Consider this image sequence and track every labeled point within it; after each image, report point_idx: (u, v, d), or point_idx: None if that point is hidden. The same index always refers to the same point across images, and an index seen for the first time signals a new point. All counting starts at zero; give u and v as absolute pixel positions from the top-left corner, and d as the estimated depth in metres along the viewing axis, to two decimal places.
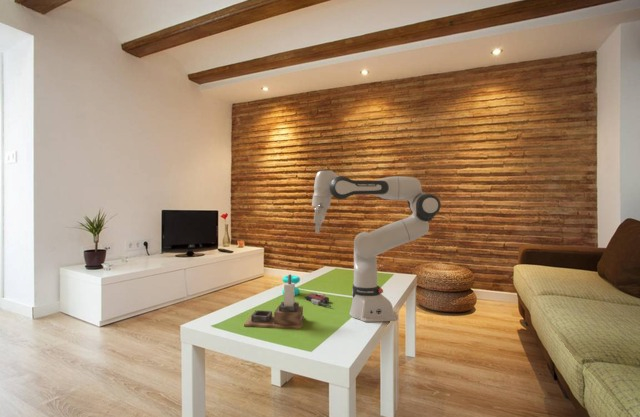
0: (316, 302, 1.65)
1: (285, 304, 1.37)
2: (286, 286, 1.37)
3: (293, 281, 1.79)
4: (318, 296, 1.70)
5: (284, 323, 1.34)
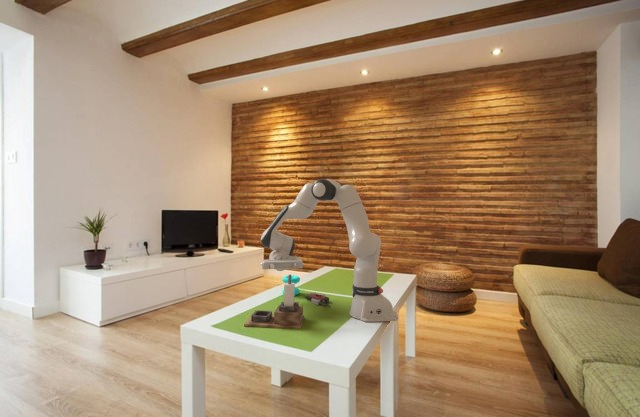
0: (316, 302, 1.65)
1: (285, 304, 1.37)
2: (286, 286, 1.37)
3: (293, 281, 1.79)
4: (318, 296, 1.71)
5: (284, 323, 1.34)
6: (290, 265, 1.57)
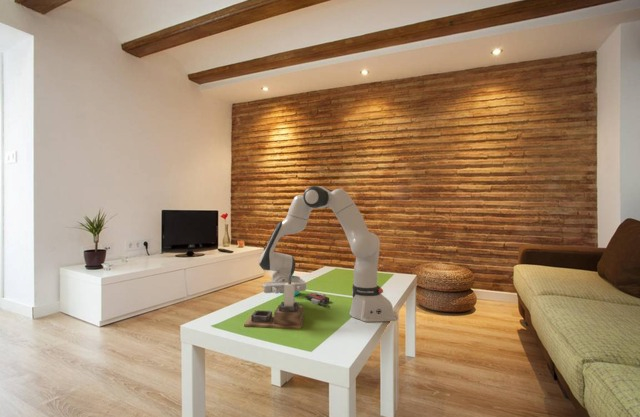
0: (316, 302, 1.65)
1: (285, 304, 1.37)
2: (286, 286, 1.37)
3: None
4: (318, 296, 1.71)
5: (284, 323, 1.34)
6: None
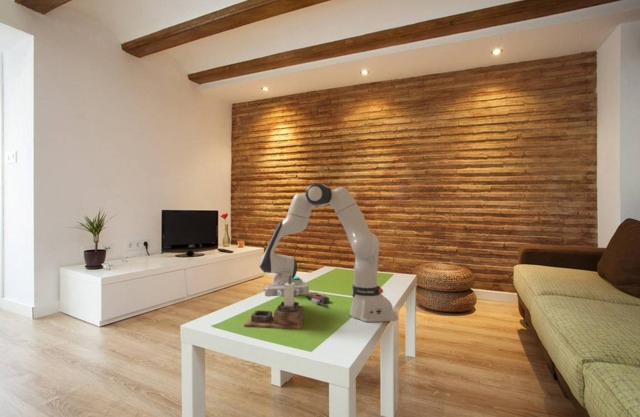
0: (315, 302, 1.66)
1: (285, 304, 1.37)
2: (286, 286, 1.37)
3: None
4: (318, 296, 1.71)
5: (284, 323, 1.34)
6: (295, 291, 1.45)
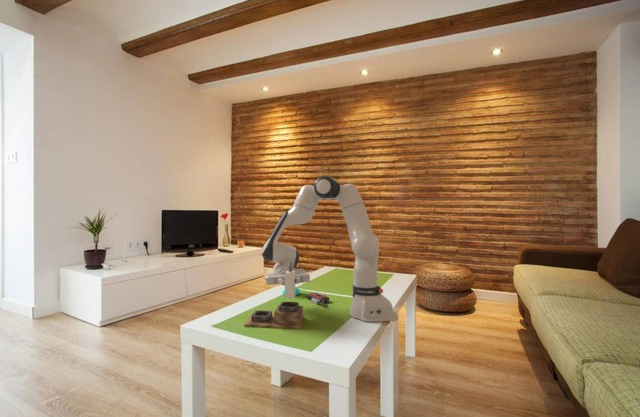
0: (315, 301, 1.66)
1: (286, 292, 1.37)
2: (287, 274, 1.37)
3: None
4: (319, 296, 1.71)
5: (284, 323, 1.34)
6: None
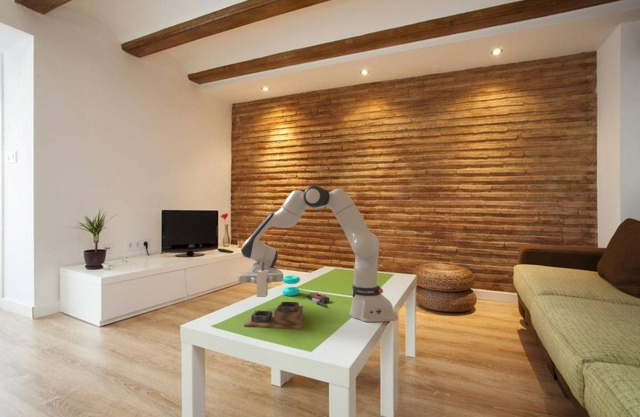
0: (315, 301, 1.66)
1: (258, 291, 1.38)
2: (259, 273, 1.38)
3: (293, 281, 1.79)
4: (319, 295, 1.72)
5: (284, 323, 1.34)
6: None
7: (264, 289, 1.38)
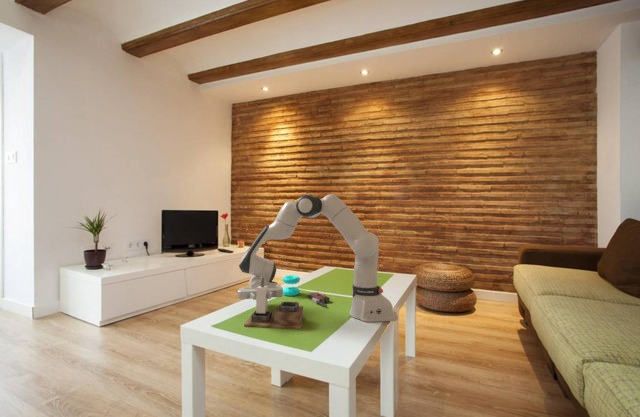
0: (315, 301, 1.67)
1: (257, 307, 1.38)
2: (258, 289, 1.38)
3: (293, 281, 1.79)
4: (319, 295, 1.72)
5: (284, 323, 1.34)
6: (269, 294, 1.45)
7: (264, 305, 1.38)
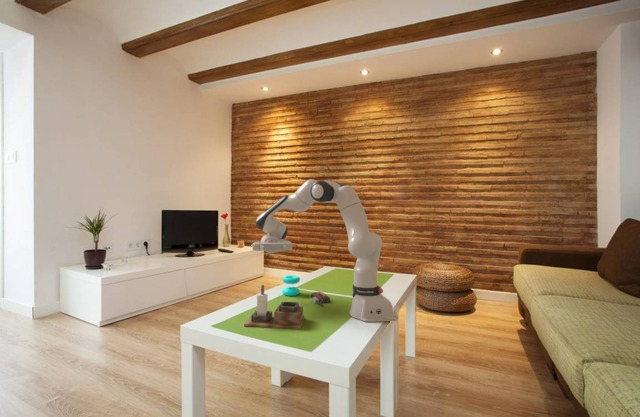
0: (314, 300, 1.68)
1: (258, 314, 1.38)
2: (259, 297, 1.38)
3: (293, 281, 1.79)
4: (320, 295, 1.73)
5: (284, 323, 1.34)
6: (279, 247, 1.63)
7: (264, 313, 1.38)
